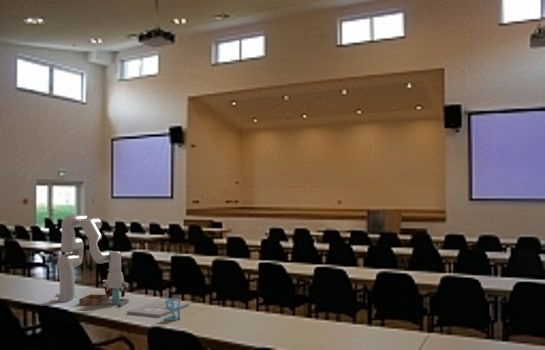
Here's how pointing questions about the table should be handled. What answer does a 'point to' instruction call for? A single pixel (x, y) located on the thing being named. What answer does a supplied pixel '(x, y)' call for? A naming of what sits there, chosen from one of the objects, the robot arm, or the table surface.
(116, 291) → the peg
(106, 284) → the plastic cup
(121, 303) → the tray
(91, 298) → the walnut box
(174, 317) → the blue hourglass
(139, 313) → the award plaque
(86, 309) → the table surface
